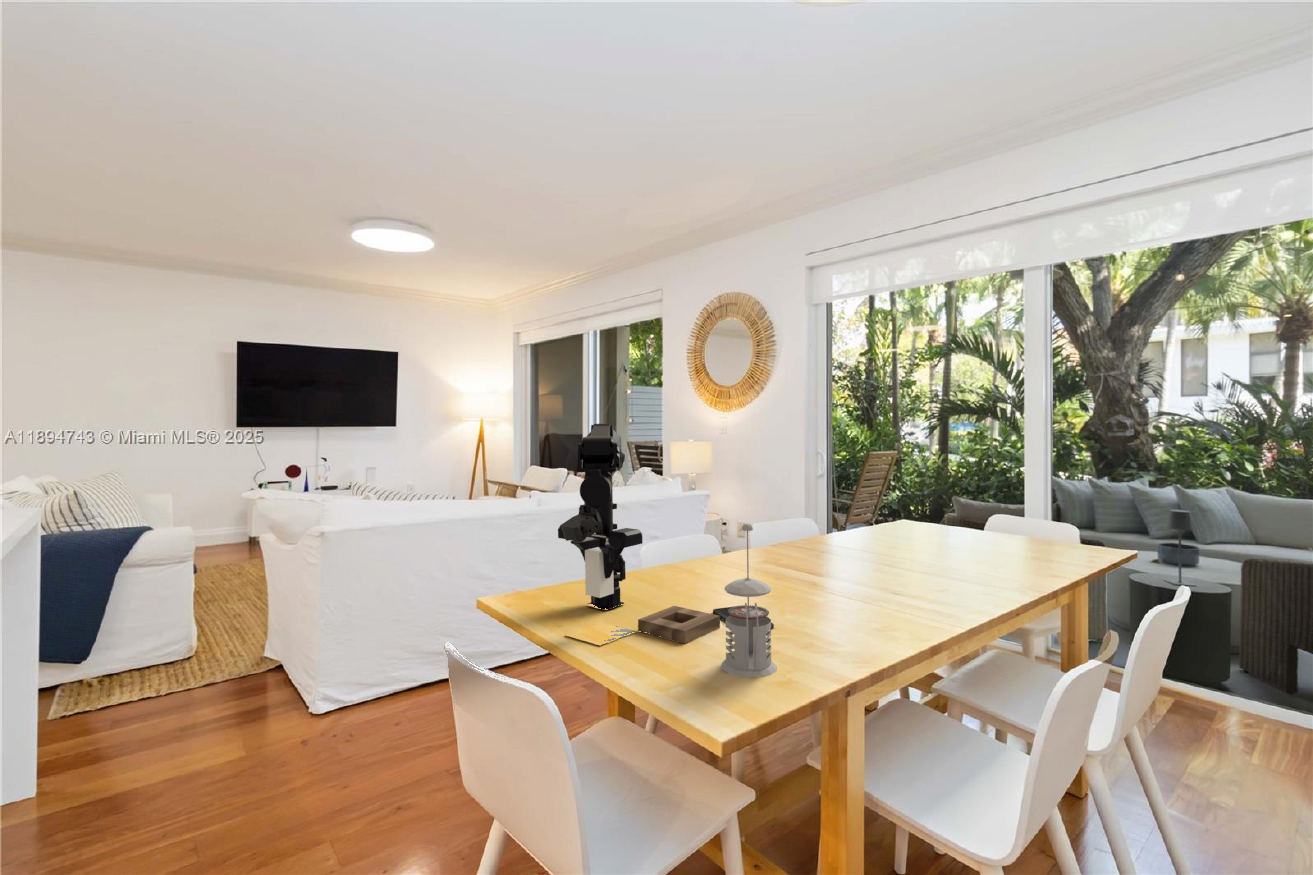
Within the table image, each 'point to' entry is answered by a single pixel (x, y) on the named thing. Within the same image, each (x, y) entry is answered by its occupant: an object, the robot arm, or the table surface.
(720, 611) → the phone
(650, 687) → the table surface
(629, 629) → the grey mat
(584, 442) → the robot arm
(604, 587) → the cream block
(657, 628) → the walnut square frame
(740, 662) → the french press
